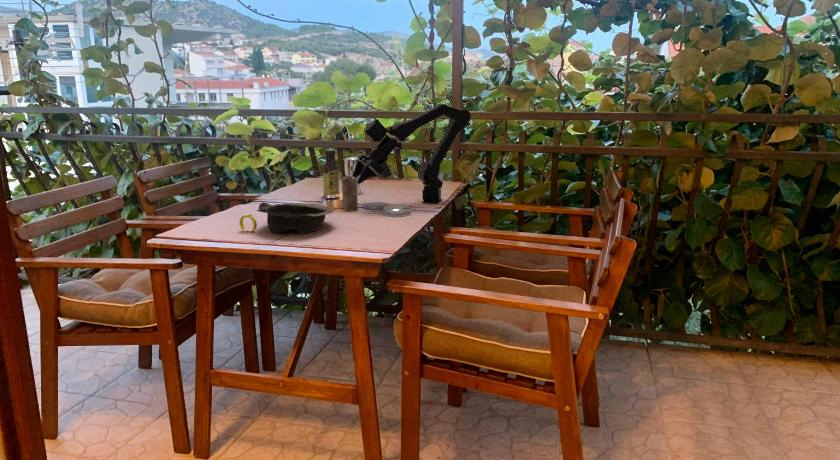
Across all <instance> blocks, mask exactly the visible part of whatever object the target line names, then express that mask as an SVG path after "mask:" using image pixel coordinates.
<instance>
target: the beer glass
mask: <svg viewBox="0 0 840 460" xmlns="http://www.w3.org/2000/svg"><path fill="white" fill-rule="evenodd" d="M357 159H358V156H351V157H345V158H344V174H345V176H346V175H353V172H354V169H355V166H356V162H357ZM358 160H359V159H358ZM360 175H361V174H360ZM360 175H359V176H358V177H357V178H356V181H358V179H359V177H360ZM360 194H362V189H361V183H360V184H358V183H357V195H360Z"/></svg>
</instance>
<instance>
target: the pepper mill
mask: <svg viewBox="0 0 840 460" xmlns="http://www.w3.org/2000/svg"><path fill="white" fill-rule="evenodd" d="M341 192H342V193H341V194H342V209H343V210H344V211H345V212H351V211H358V210H359V209H358V194H357V181H356V178H355V177H354V176H353V177H352V175H345V176H341Z"/></svg>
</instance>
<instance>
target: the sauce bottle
mask: <svg viewBox="0 0 840 460" xmlns="http://www.w3.org/2000/svg"><path fill="white" fill-rule="evenodd" d="M324 154H325V163H324V164H323V166H322V169H323V171H322V175H323V176H322V178H323V195H324V196H326V195H335V194H339V195H340V183H339V182H340V180H339V177H340V175H339V174H340V173H339V168H338V164H337V162H336V149H325V150H324ZM324 196H323V197H324Z"/></svg>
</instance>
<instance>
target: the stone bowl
mask: <svg viewBox="0 0 840 460" xmlns="http://www.w3.org/2000/svg"><path fill="white" fill-rule="evenodd" d="M256 212H260V213H264V214H265V213H266V214H267V217H266V223H267V228H268V230H269V231H270V232H271V233H277V234H278V233H279V234H280V233H286V232H288V231H290V230H293V229H295V230H296V231H297V232H298V233H299V234H301V233H303V234H310V233H312V232H316V231H317V230H319V229H320V228H321V227H322V226H323V224H324V222H325V220H326V215H329V214H332V213H334V212H335V210H334V209H333V208H332V207H329V206H326V205H318V204H310V203H299V202H298V203H293V202H292V203H291V202H285V203H277V204H269V203H267V202H264V201H263V202H262V203H259V206H258V209H257V210H256Z"/></svg>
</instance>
